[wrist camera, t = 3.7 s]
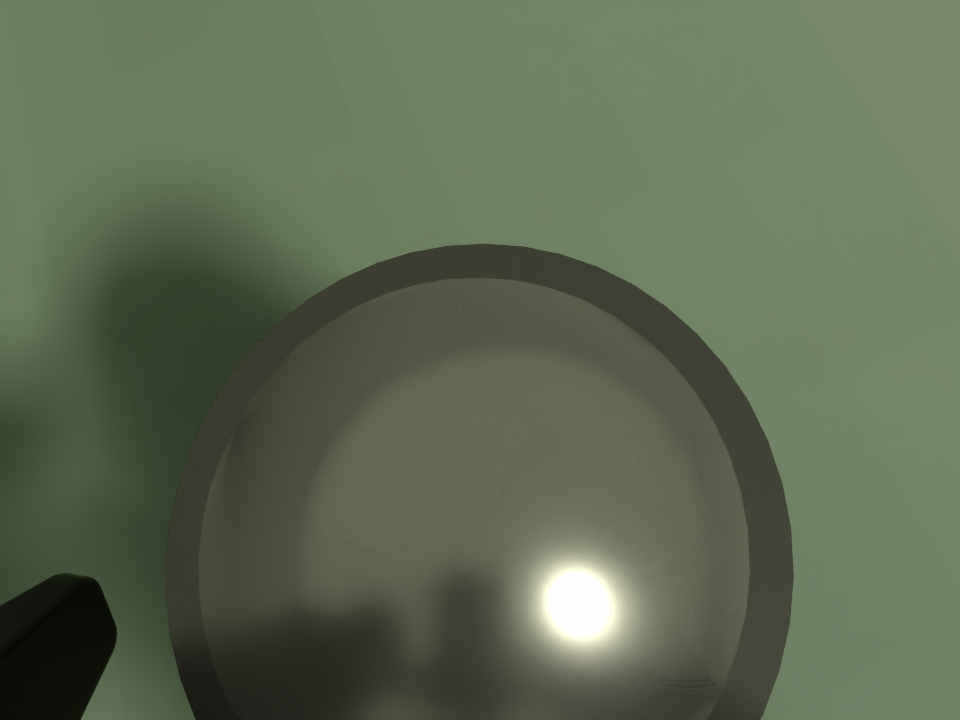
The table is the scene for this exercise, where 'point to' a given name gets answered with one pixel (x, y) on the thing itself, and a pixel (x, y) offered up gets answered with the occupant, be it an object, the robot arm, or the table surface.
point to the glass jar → (480, 508)
